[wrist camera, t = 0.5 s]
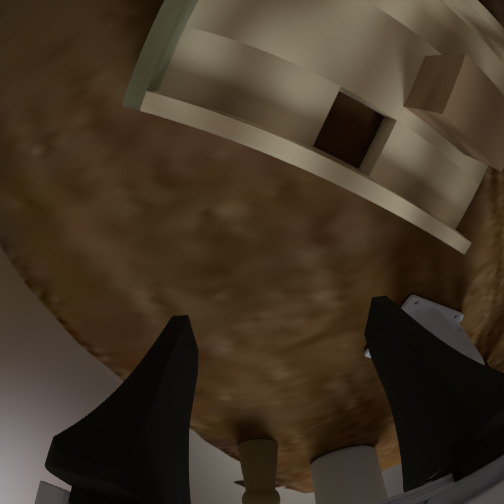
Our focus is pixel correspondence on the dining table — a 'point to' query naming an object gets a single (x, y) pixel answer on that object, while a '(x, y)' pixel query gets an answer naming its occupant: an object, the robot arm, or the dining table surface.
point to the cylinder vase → (348, 477)
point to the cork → (259, 471)
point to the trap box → (324, 88)
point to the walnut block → (461, 106)
